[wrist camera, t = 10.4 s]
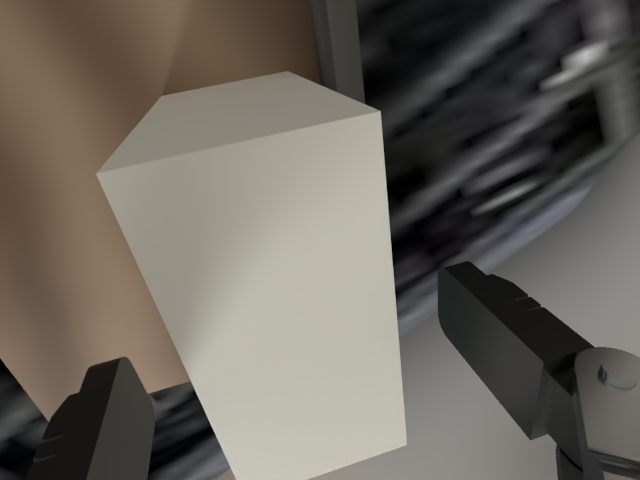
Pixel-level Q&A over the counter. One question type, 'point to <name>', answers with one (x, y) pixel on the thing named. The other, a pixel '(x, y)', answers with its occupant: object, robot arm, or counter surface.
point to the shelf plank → (100, 143)
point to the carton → (270, 267)
